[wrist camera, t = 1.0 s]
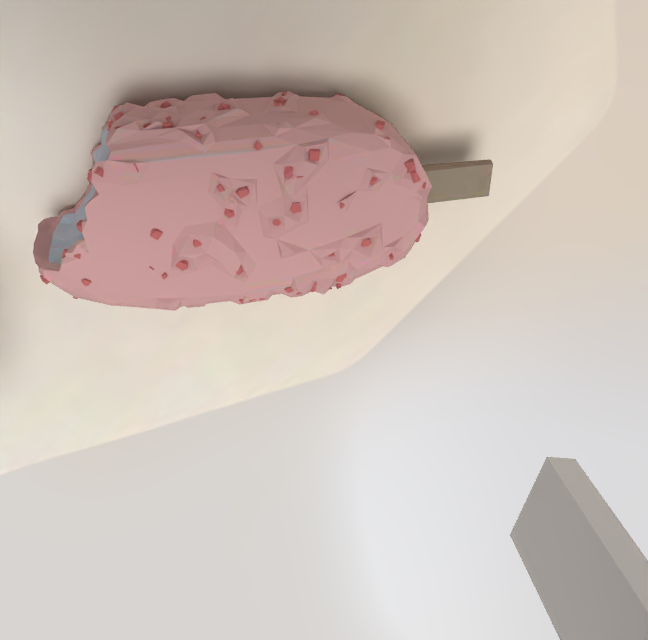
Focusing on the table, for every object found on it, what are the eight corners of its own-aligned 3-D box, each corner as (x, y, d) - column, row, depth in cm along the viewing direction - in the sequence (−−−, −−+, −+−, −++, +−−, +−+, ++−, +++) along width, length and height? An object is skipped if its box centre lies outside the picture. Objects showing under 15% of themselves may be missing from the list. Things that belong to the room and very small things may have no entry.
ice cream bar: (495, 285, 39) (55, 349, 34) (447, 223, 46) (68, 267, 40) (548, 109, 31) (-30, 154, 25) (480, 62, 37) (4, 88, 31)
